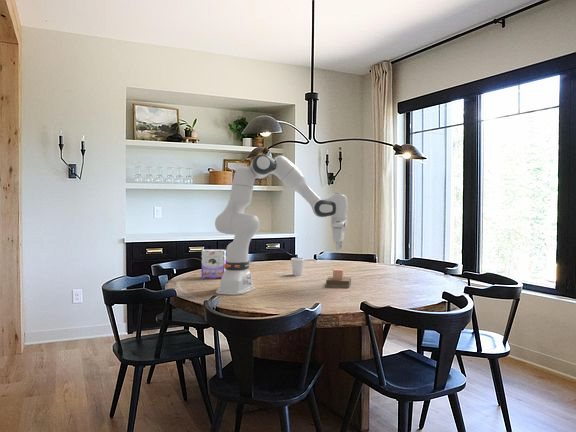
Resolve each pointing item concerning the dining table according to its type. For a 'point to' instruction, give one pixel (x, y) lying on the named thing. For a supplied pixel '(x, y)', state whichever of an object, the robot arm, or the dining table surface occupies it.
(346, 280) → the walnut block
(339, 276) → the terracotta cube
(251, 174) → the robot arm
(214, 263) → the candy box
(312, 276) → the dining table surface
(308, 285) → the dining table surface
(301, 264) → the dixie cup
